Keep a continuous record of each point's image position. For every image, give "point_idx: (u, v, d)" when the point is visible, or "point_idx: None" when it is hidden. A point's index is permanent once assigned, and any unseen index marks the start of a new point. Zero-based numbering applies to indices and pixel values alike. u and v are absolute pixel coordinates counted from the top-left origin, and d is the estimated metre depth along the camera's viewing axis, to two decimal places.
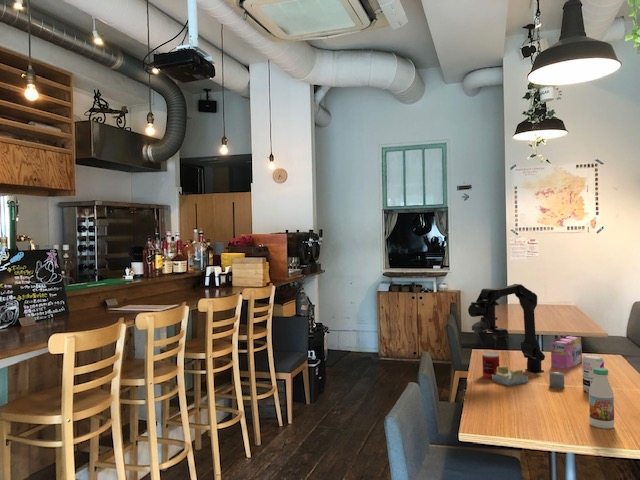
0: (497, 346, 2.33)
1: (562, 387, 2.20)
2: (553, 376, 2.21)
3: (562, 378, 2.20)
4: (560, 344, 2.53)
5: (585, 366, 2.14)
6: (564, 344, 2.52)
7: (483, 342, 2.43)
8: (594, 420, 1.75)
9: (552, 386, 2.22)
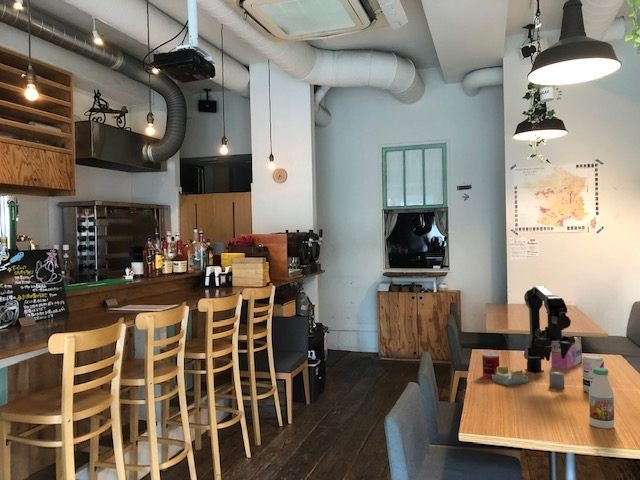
0: (545, 356, 2.21)
1: (562, 387, 2.20)
2: (553, 376, 2.21)
3: (562, 378, 2.20)
4: None
5: (585, 366, 2.14)
6: None
7: (562, 354, 2.25)
8: (594, 420, 1.75)
9: (552, 386, 2.22)
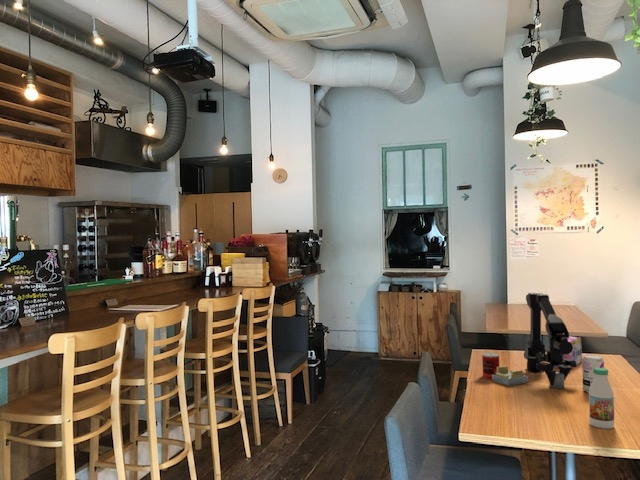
0: (549, 380, 2.22)
1: (562, 387, 2.20)
2: None
3: (562, 378, 2.20)
4: None
5: (585, 366, 2.14)
6: None
7: None
8: (594, 420, 1.75)
9: (552, 386, 2.22)
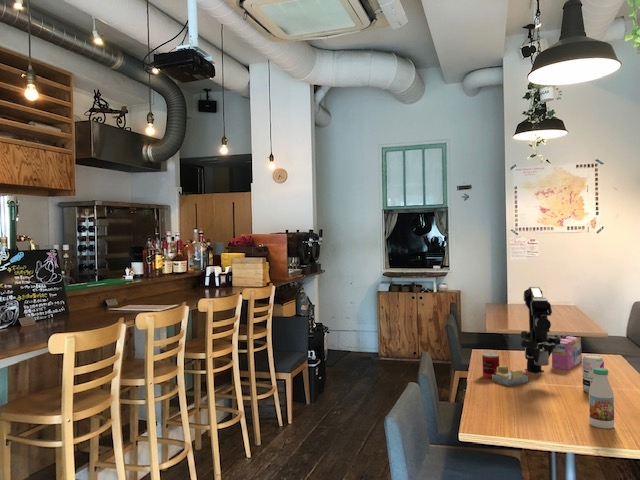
0: (534, 358, 2.25)
1: (546, 364, 2.24)
2: None
3: (546, 355, 2.24)
4: (561, 344, 2.52)
5: (585, 366, 2.14)
6: (565, 344, 2.51)
7: None
8: (594, 420, 1.75)
9: (537, 363, 2.25)
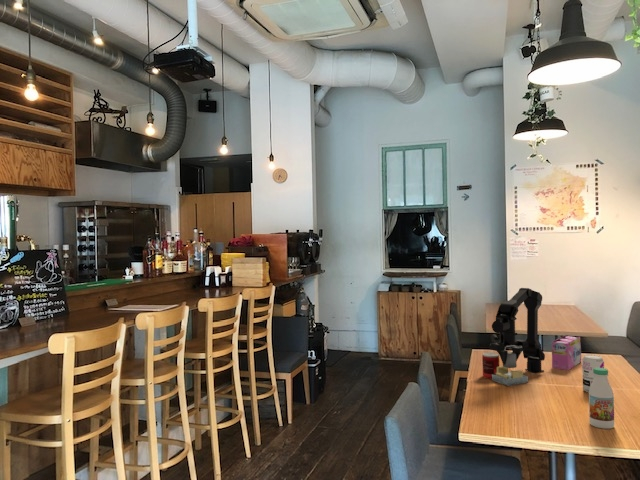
0: (502, 360, 2.32)
1: (514, 366, 2.30)
2: None
3: (514, 357, 2.30)
4: (561, 344, 2.52)
5: (585, 366, 2.14)
6: (565, 344, 2.51)
7: None
8: (594, 420, 1.75)
9: (505, 365, 2.32)
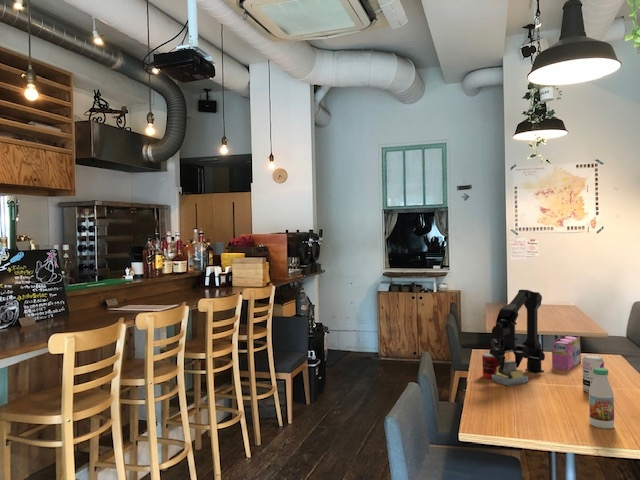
0: (499, 365, 2.31)
1: None
2: (506, 364, 2.31)
3: (514, 366, 2.30)
4: (561, 344, 2.52)
5: (585, 366, 2.14)
6: (565, 344, 2.51)
7: (516, 363, 2.35)
8: (594, 420, 1.75)
9: (505, 374, 2.32)
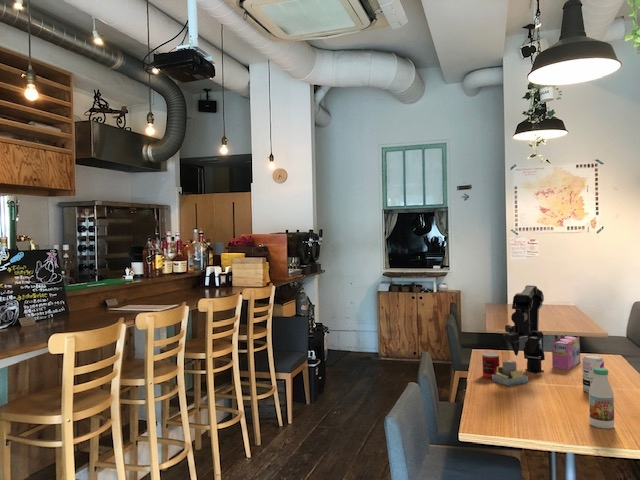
0: (514, 351, 2.31)
1: None
2: (505, 364, 2.31)
3: (514, 366, 2.30)
4: (561, 344, 2.52)
5: (585, 366, 2.14)
6: (566, 344, 2.51)
7: (531, 349, 2.34)
8: (594, 420, 1.75)
9: (505, 374, 2.32)
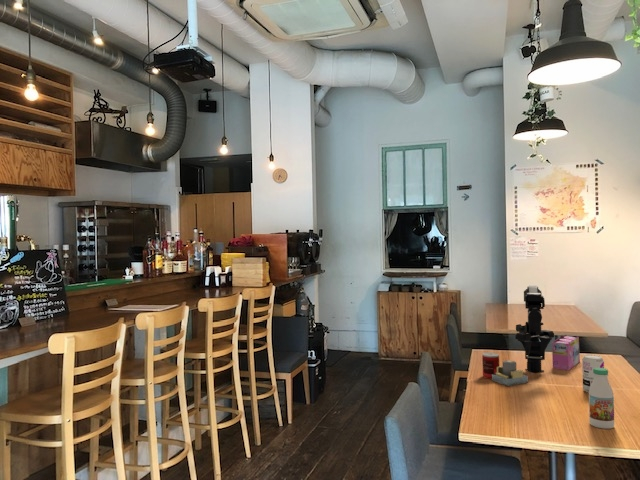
0: (525, 350, 2.30)
1: None
2: (505, 364, 2.31)
3: (514, 366, 2.30)
4: (562, 344, 2.52)
5: (585, 366, 2.14)
6: (566, 344, 2.51)
7: (542, 349, 2.33)
8: (594, 420, 1.75)
9: (505, 374, 2.32)
